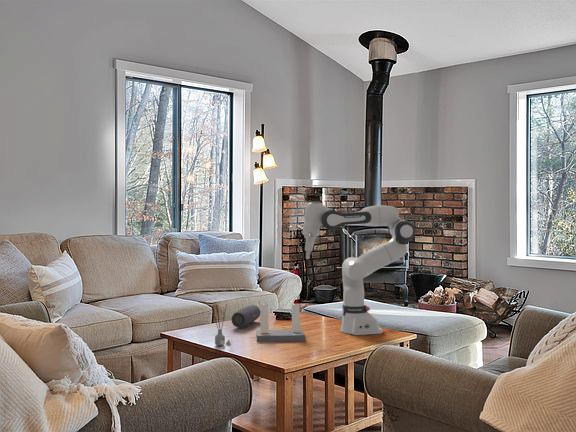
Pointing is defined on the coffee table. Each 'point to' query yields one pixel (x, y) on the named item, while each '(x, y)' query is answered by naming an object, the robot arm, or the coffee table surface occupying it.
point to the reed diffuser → (220, 332)
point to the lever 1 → (264, 317)
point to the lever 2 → (295, 317)
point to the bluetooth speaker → (245, 316)
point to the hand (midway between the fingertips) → (307, 258)
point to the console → (280, 336)
